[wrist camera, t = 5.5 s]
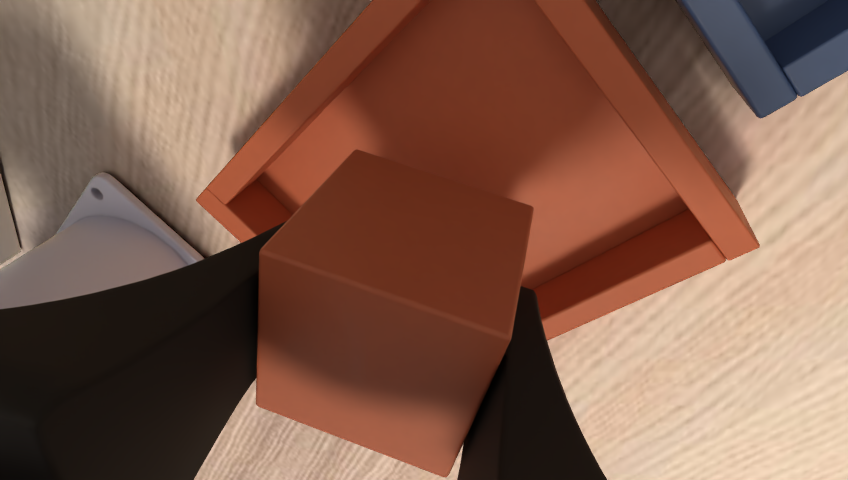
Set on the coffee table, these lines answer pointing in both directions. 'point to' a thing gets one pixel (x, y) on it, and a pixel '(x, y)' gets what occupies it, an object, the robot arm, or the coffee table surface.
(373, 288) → the clay block
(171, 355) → the robot arm
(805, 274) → the coffee table surface
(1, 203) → the heart
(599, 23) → the clay tray
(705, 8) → the slate tray
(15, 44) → the coffee table surface
